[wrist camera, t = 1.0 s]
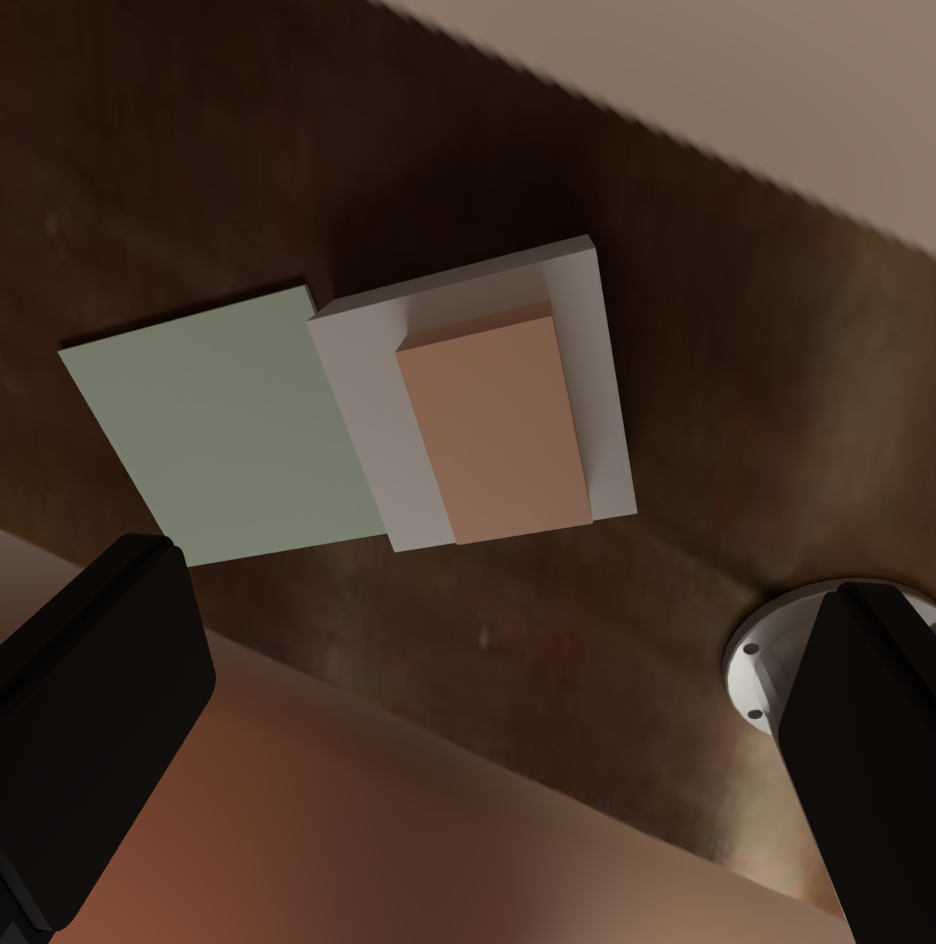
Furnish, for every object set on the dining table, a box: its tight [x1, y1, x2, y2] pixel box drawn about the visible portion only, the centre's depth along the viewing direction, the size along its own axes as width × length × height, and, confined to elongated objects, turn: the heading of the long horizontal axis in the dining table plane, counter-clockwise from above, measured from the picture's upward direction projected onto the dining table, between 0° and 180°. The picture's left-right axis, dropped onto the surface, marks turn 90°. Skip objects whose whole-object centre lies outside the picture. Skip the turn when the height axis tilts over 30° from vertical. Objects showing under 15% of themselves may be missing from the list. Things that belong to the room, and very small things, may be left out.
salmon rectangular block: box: [395, 300, 593, 545], centre depth 25 cm, size 9×6×2 cm, turn 15°
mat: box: [58, 284, 387, 567], centre depth 33 cm, size 14×14×1 cm
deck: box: [306, 234, 637, 552], centre depth 28 cm, size 12×12×4 cm
